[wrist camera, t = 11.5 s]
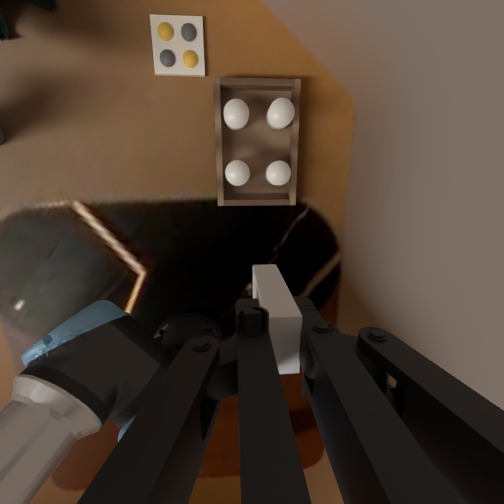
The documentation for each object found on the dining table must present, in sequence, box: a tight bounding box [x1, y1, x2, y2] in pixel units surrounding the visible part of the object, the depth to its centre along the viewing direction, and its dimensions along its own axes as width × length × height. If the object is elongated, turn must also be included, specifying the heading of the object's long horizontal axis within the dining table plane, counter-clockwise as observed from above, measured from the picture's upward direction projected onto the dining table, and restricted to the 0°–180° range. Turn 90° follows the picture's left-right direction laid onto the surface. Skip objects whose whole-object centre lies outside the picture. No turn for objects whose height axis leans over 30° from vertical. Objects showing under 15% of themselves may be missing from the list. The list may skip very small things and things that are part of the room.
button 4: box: [224, 99, 249, 131], centre depth 42 cm, size 4×4×4 cm
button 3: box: [225, 160, 250, 186], centre depth 44 cm, size 4×4×4 cm
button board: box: [213, 77, 301, 206], centre depth 45 cm, size 20×14×3 cm
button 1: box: [265, 161, 291, 185], centre depth 45 cm, size 4×4×4 cm
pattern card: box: [150, 14, 205, 77], centre depth 41 cm, size 8×8×1 cm
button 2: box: [266, 98, 295, 131], centre depth 42 cm, size 4×4×4 cm
